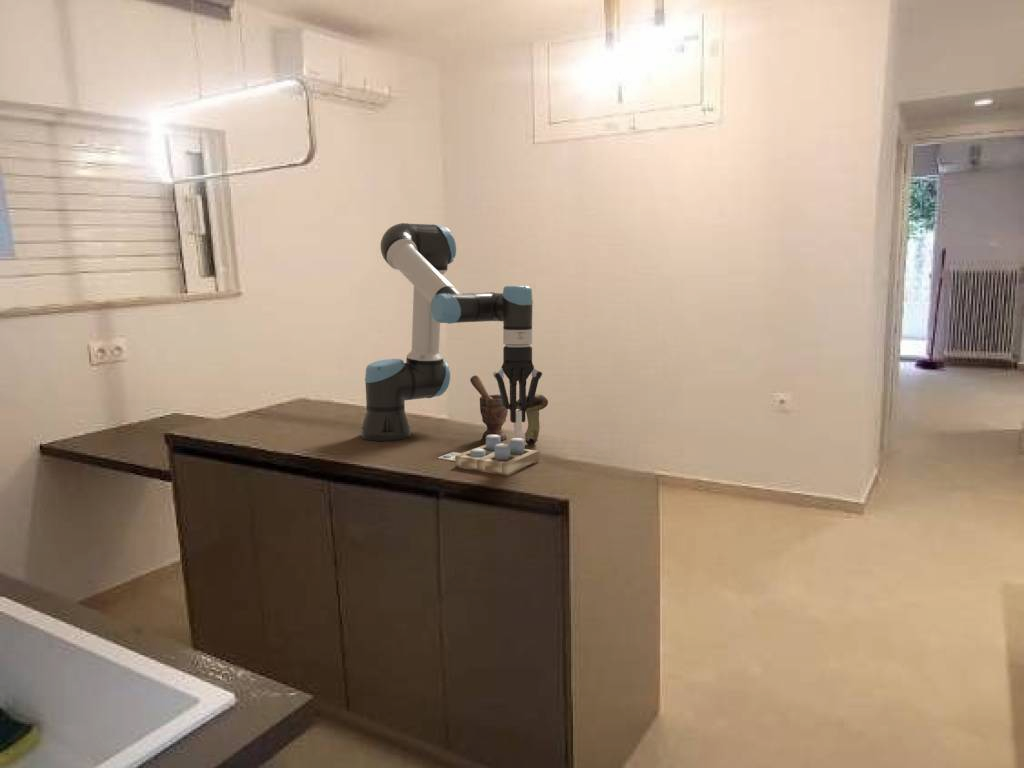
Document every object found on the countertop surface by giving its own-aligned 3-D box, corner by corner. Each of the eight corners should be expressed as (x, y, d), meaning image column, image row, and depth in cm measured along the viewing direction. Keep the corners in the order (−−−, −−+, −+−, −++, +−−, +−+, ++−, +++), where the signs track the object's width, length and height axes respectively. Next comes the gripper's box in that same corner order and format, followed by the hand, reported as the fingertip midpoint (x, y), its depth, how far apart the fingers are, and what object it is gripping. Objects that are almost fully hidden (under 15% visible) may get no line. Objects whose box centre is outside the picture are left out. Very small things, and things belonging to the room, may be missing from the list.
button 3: (491, 459, 183) (491, 445, 183) (499, 456, 187) (499, 442, 186) (504, 461, 181) (504, 447, 181) (512, 458, 185) (512, 444, 184)
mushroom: (553, 444, 212) (554, 394, 209) (534, 450, 205) (535, 398, 203) (529, 439, 218) (529, 391, 215) (510, 444, 211) (510, 394, 209)
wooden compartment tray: (455, 466, 187) (455, 455, 186) (488, 453, 200) (488, 443, 200) (507, 476, 179) (507, 464, 178) (538, 461, 192) (538, 450, 192)
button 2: (483, 449, 194) (483, 436, 193) (490, 446, 197) (490, 433, 196) (495, 451, 192) (495, 438, 191) (503, 448, 195) (503, 435, 194)
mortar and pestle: (486, 445, 211) (486, 378, 208) (466, 440, 216) (466, 375, 213) (513, 438, 219) (513, 374, 216) (493, 434, 225) (493, 371, 222)
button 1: (467, 464, 188) (467, 450, 187) (475, 460, 191) (475, 447, 190) (480, 466, 186) (480, 452, 185) (488, 463, 189) (488, 449, 188)
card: (437, 458, 195) (437, 457, 195) (452, 453, 201) (452, 451, 201) (459, 462, 192) (459, 460, 192) (473, 456, 198) (473, 455, 198)
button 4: (506, 453, 190) (506, 439, 189) (514, 450, 193) (514, 437, 193) (519, 455, 188) (519, 441, 187) (527, 452, 191) (527, 438, 191)
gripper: (496, 347, 181) (496, 438, 184) (545, 346, 184) (545, 435, 187) (490, 344, 188) (490, 432, 191) (537, 343, 191) (537, 430, 195)
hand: (517, 434), depth 189 cm, fingers closed
